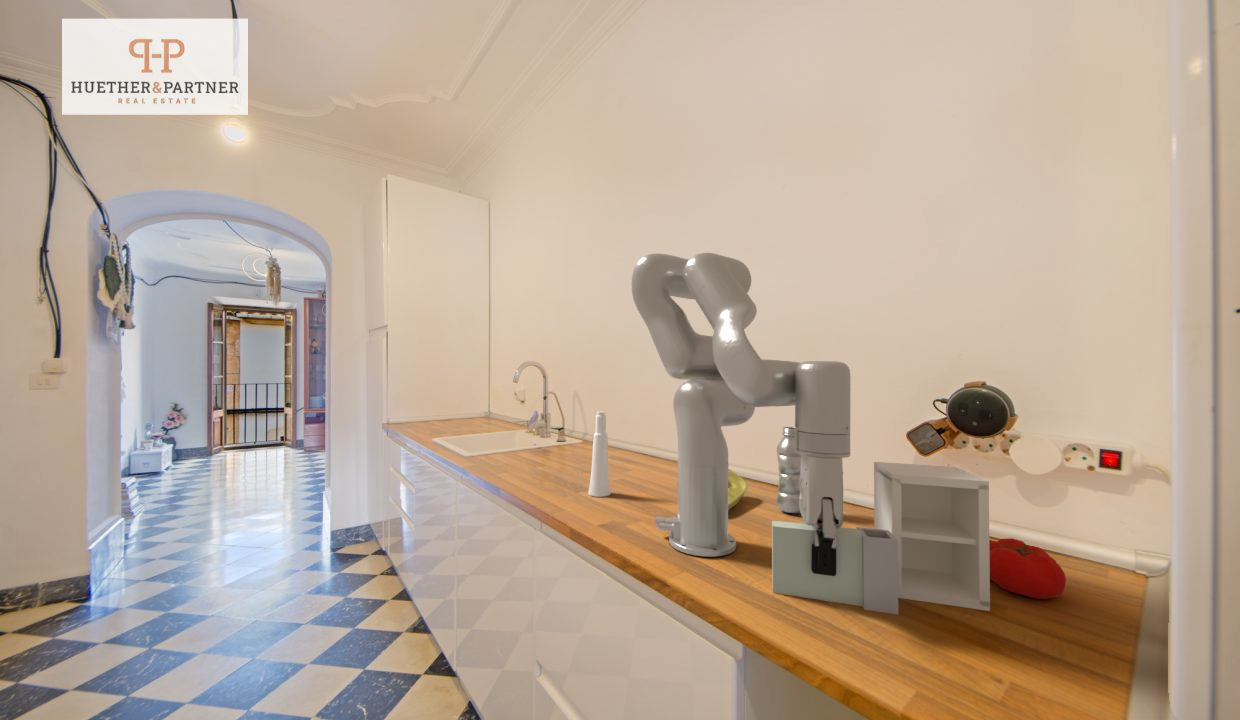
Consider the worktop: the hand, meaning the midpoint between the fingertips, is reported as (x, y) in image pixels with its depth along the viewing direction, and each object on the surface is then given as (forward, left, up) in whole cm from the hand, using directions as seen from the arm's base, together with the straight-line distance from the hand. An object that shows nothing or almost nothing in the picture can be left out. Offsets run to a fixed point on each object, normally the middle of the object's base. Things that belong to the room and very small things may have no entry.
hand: (821, 566), depth 65 cm
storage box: (+1, 0, -4) cm, 4 cm away
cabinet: (+14, +6, -4) cm, 16 cm away
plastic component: (-18, +41, -5) cm, 45 cm away
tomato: (+30, +13, -5) cm, 33 cm away
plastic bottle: (-1, +41, -4) cm, 41 cm away
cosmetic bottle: (-49, +40, -4) cm, 63 cm away
